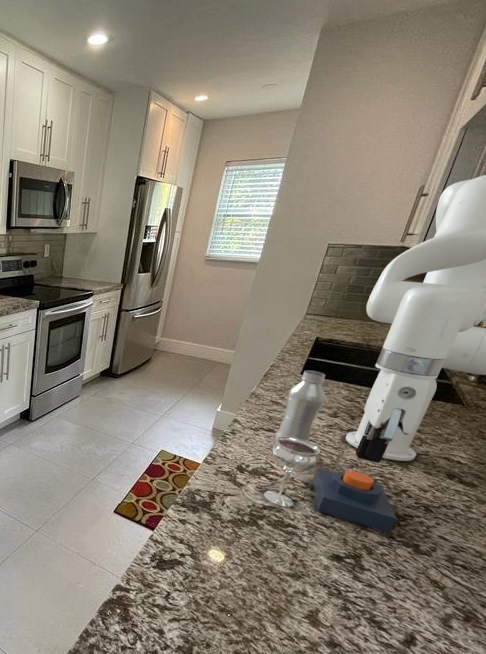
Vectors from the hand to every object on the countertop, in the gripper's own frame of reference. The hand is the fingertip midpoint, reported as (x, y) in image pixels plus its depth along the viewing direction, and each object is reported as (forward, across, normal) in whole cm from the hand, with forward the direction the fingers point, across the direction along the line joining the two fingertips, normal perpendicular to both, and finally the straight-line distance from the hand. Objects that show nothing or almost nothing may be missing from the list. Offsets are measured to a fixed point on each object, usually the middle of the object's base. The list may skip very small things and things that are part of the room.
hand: (367, 458), depth 75 cm
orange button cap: (+6, +1, 0) cm, 6 cm away
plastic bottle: (+10, +18, +9) cm, 22 cm away
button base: (+10, +1, 0) cm, 10 cm away
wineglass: (+11, -5, +11) cm, 16 cm away
